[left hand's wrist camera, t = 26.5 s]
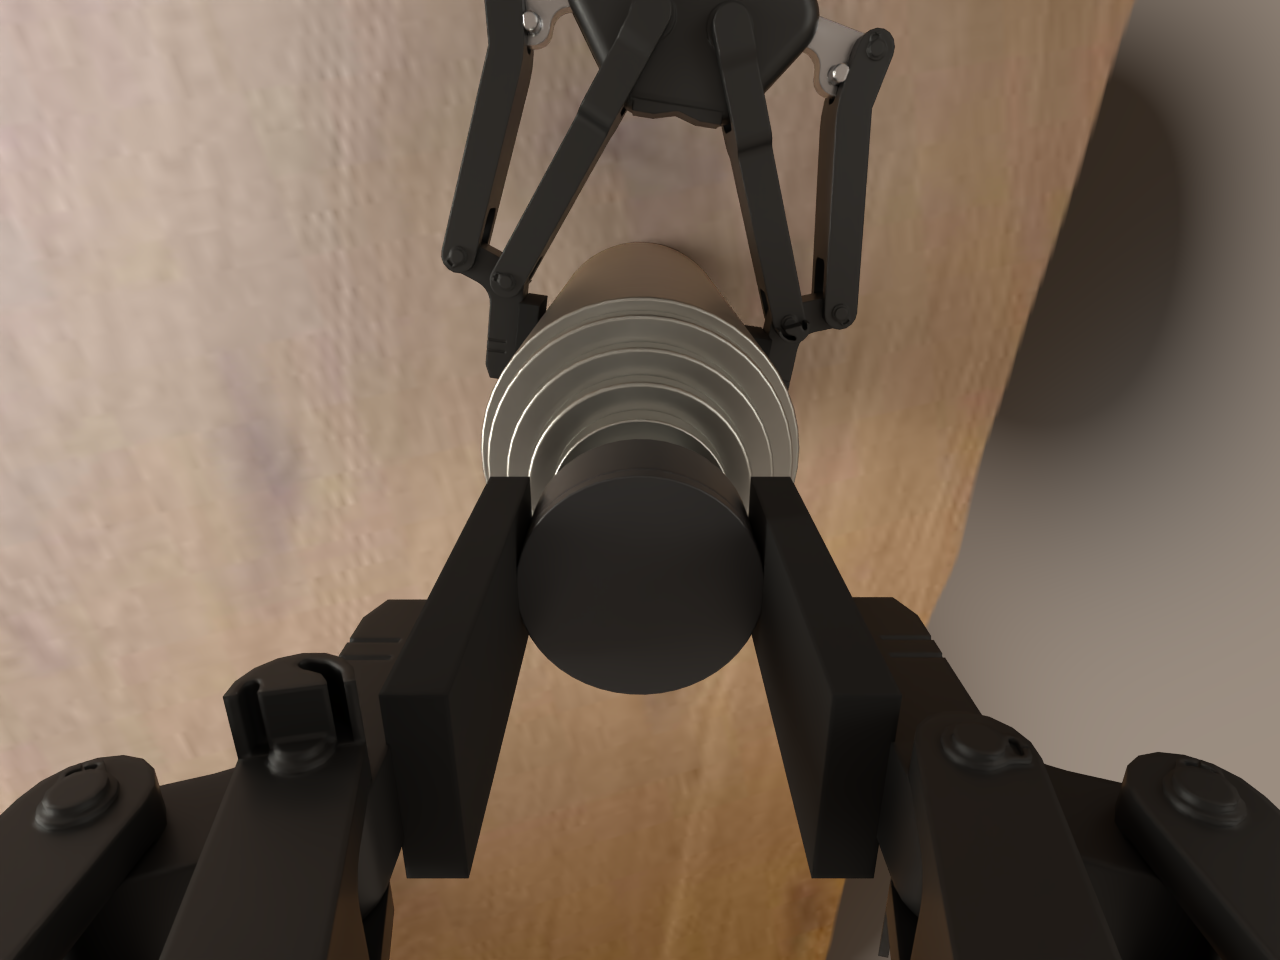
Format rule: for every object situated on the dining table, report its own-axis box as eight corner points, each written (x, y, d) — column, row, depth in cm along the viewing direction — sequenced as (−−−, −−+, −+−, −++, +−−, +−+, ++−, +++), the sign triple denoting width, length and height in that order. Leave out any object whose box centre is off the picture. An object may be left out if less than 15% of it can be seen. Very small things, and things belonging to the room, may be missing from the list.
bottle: (695, 216, 34) (800, 277, 12) (744, 382, 36) (905, 684, 14) (529, 276, 35) (336, 437, 13) (590, 433, 37) (518, 789, 15)
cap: (569, 406, 14) (559, 440, 12) (785, 480, 14) (806, 524, 12) (504, 598, 15) (485, 655, 13) (701, 659, 16) (709, 722, 14)
